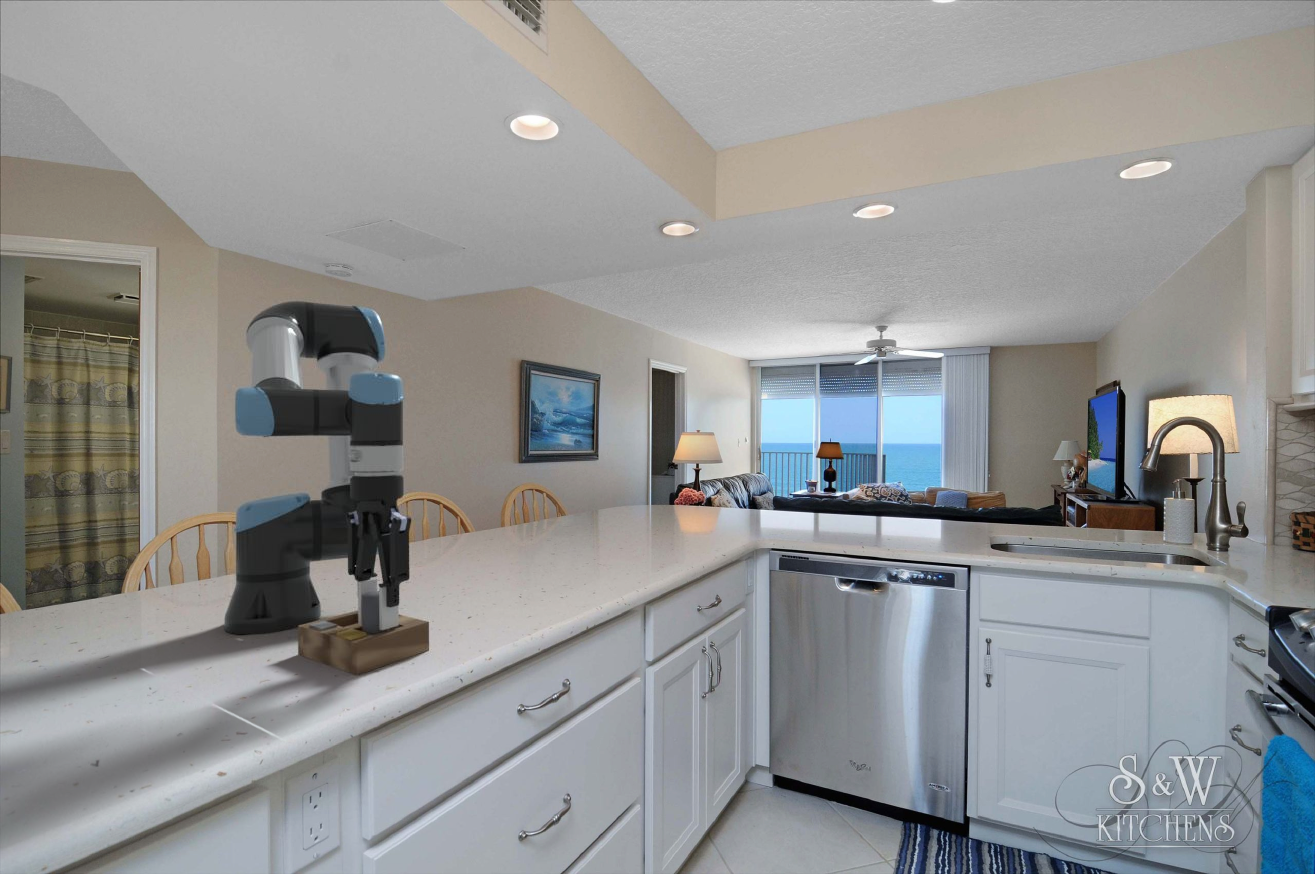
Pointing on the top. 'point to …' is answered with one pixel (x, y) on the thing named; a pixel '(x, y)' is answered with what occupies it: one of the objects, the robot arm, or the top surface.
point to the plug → (371, 613)
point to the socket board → (361, 642)
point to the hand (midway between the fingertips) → (378, 624)
